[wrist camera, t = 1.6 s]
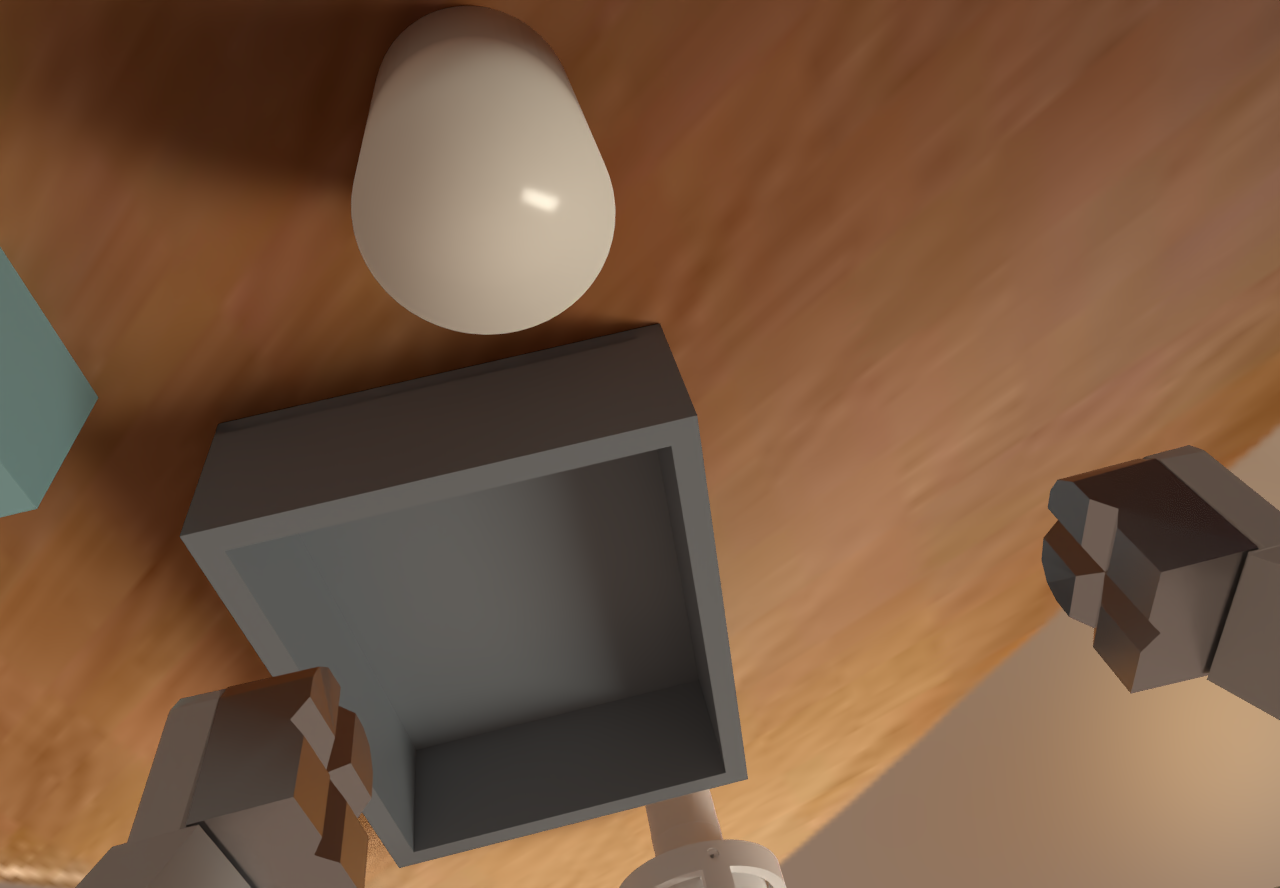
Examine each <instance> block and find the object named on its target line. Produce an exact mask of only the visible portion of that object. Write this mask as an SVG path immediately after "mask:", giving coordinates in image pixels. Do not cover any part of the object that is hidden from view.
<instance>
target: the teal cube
mask: <svg viewBox="0 0 1280 888" xmlns="http://www.w3.org/2000/svg"><path fill="white" fill-rule="evenodd" d="M97 399H98V396H97V395H96V393H95V392H94V390H93V389H92V387H91V386H90V384H89V383H88V381H87V380H86V378H85V376H84V375H83V373H82V372H81V370H80V369H79V367H78V366H77V364H76V363H75V361H74V360H73V358H72V356H71V355H70V353H69V352H68V350H67V349H66V347H65V346H64V344H63V343H62V341H61V340H60V338H59V337H58V335H57V333H56V332H55V330H54V329H53V327H52V326H51V324H50V323H49V321H48V320H47V318H46V317H45V315H44V314H43V312H42V310H41V309H40V307H39V306H38V304H37V303H36V301H35V300H34V298H33V297H32V295H31V294H30V292H29V290H28V289H27V287H26V286H25V284H24V283H23V281H22V280H21V278H20V277H19V275H18V274H17V272H16V271H15V269H14V267H13V266H12V264H11V263H10V261H9V260H8V258H7V257H6V255H5V254H4V252H3V251H2V249H1V247H0V517H4V516H8V515H12V514H17V513H21V512H25V511H30V510H34V509H37V508H38V506H39V504H40V502H41V501H42V499H43V497H44V495H45V493H46V492H47V490H48V488H49V486H50V484H51V483H52V481H53V479H54V477H55V475H56V473H57V472H58V470H59V468H60V466H61V464H62V463H63V461H64V459H65V457H66V455H67V454H68V452H69V450H70V448H71V446H72V445H73V443H74V441H75V439H76V437H77V436H78V434H79V432H80V430H81V428H82V426H83V425H84V423H85V421H86V419H87V417H88V416H89V414H90V412H91V410H92V408H93V407H94V405H95V403H96V401H97Z"/></svg>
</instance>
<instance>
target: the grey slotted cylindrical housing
mask: <svg viewBox="0 0 1280 888" xmlns="http://www.w3.org/2000/svg"><path fill="white" fill-rule="evenodd" d="M645 806H646V811H647V816H648V821H649V826H650V831H651V838H652V843H653V848H654V851H655V856H656V857H655V858H653V859H651V860H649V861H647V862H646V863H644V864H643V865H641V866H640V867H638V868H637V869H636V870H634V871H633V872H632V873H631V874H630V875H629V876H628V877H627V878H626V879H625V880H624V881H623V883H622V884H621V886H620V887H619V888H786V885H785V882H784V878H783V875H782V872H781V869H780V866H779V862H778V860H777V858H776V856H775V855H774V854H773V853H772V852H771V851H770V850H769V849H767V848H766V847H764V846H762V845H759V844H756V843H753V842H749V841H743V840H723V838H722V833H721V829H720V825H719V821H718V819H717V815H716V811H715V808H714V804H713V800H712V796H711V793H710V789H707V790H703V791H699V792H695V793H691V794H687V795H683V796H680V797H676V798H672V799H668V800H664V801H660V802H656V803H652V804H648V805H645Z"/></svg>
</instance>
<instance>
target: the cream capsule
mask: <svg viewBox="0 0 1280 888" xmlns="http://www.w3.org/2000/svg"><path fill="white" fill-rule="evenodd" d="M351 215H352V222H353V229H354V234H355V237H356V241H357V244H358V247H359V250H360V252H361V254H362V256H363V259H364V261H365V263H366V265H367V266H368V268H369V270H370V271H371V273H372V274H373V276H374V278H375V279H376V280H377V281H378V282H379V284H380V285H381V286H382V287H383V289H384V290H385V291H386V292H387V293H388V294H389V295H390V296H391V297H392V298H393V299H395V300H396V301H397V302H398V303H399V304H401V305H402V306H403V307H405V308H406V309H407V310H409V311H410V312H412V313H413V314H415V315H417V316H419V317H420V318H422V319H424V320H426V321H428V322H431V323H433V324H435V325H438V326H440V327H444V328H447V329H450V330H454V331H458V332H464V333H470V334H484V335H490V334H504V333H510V332H516V331H520V330H524V329H527V328H531V327H534V326H536V325H539V324H541V323H543V322H546V321H548V320H550V319H551V318H553V317H555V316H557V315H558V314H560V313H562V312H563V311H564V310H566V309H567V308H568V307H570V306H571V305H572V304H574V303H575V302H576V301H577V300H578V299H579V298H580V297H581V296H582V295H583V294H584V293H585V292H586V290H587V289H588V288H589V287H590V286H591V284H592V283H593V282H594V280H595V279H596V277H597V275H598V274H599V272H600V271H601V269H602V267H603V265H604V262H605V260H606V258H607V256H608V253H609V250H610V246H611V243H612V240H613V233H614V227H615V201H614V193H613V189H612V185H611V181H610V177H609V174H608V172H607V169H606V167H605V164H604V162H603V159H602V157H601V155H600V152H599V150H598V148H597V145H596V143H595V141H594V138H593V136H592V133H591V131H590V129H589V126H588V124H587V122H586V119H585V117H584V115H583V112H582V110H581V108H580V105H579V103H578V101H577V98H576V96H575V94H574V91H573V89H572V87H571V84H570V82H569V80H568V77H567V75H566V72H565V70H564V68H563V66H562V64H561V62H560V60H559V59H558V57H557V55H556V54H555V52H554V51H553V50H552V48H551V47H550V46H549V44H548V43H547V42H546V41H545V40H544V39H543V38H542V37H541V36H540V35H539V34H538V33H537V32H536V31H534V30H533V29H532V28H531V27H530V26H528V25H527V24H525V23H524V22H522V21H520V20H519V19H517V18H515V17H513V16H511V15H509V14H506V13H504V12H501V11H498V10H495V9H491V8H486V7H479V6H457V7H449V8H445V9H442V10H438V11H435V12H432V13H430V14H428V15H426V16H424V17H422V18H420V19H419V20H417V21H415V22H414V23H412V24H411V25H410V26H409V27H407V28H406V29H405V30H404V31H403V32H402V33H401V34H400V35H399V36H398V37H397V38H396V40H395V41H394V42H393V43H392V45H391V46H390V48H389V49H388V51H387V53H386V54H385V56H384V58H383V61H382V63H381V65H380V67H379V71H378V75H377V78H376V82H375V87H374V91H373V96H372V100H371V105H370V109H369V114H368V119H367V123H366V128H365V132H364V137H363V141H362V146H361V150H360V155H359V159H358V164H357V169H356V173H355V178H354V182H353V190H352V197H351Z"/></svg>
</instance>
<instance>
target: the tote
mask: <svg viewBox="0 0 1280 888" xmlns="http://www.w3.org/2000/svg"><path fill="white" fill-rule="evenodd" d="M180 538H181V539H182V541H183V542H184V544H185V545H186V547H187V548H188V550H189V551H190V553H191V554H192V556H193V557H194V559H195V560H196V562H197V563H198V565H199V566H200V568H201V569H202V571H203V573H204V574H205V576H206V577H207V579H208V580H209V582H210V583H211V585H212V586H213V588H214V589H215V591H216V592H217V594H218V595H219V597H220V598H221V600H222V601H223V603H224V604H225V606H226V607H227V609H228V610H229V612H230V613H231V615H232V616H233V618H234V619H235V621H236V622H237V624H238V625H239V627H240V628H241V630H242V631H243V633H244V634H245V636H246V637H247V639H248V640H249V642H250V643H251V645H252V646H253V648H254V649H255V651H256V653H257V654H258V656H259V657H260V659H261V660H262V662H263V663H264V665H265V666H266V668H267V669H268V671H269V672H270V674H271V675H272V677H275V676H279V675H284V674H288V673H293V672H297V671H301V670H306V669H310V668H315V667H319V666H320V667H328V668H329V669H330V671H331V672H332V674H333V676H334V677H335V679H336V680H337V682H338V683H339V685H340V687H341V689H340V698H339V706H340V707H343V708H345V709H347V710H350V711H352V712H354V713H356V715H357V717H358V718H359V720H360V722H361V724H362V726H363V728H364V731H365V734H366V737H367V740H368V743H369V746H370V752H371V761H372V769H373V784H372V798H371V800H370V801H369V803H368V804H367V806H366V807H365V808H364V810H363V811H362V813H363V814H364V816H365V817H366V819H367V820H368V822H369V823H370V825H371V826H372V828H373V829H374V831H375V832H376V834H377V835H378V837H379V838H380V840H381V841H382V843H383V844H384V846H385V847H386V849H387V850H388V852H389V853H390V855H391V856H392V858H393V859H394V861H395V862H396V864H397V865H398V867H399V868H401V867H405V866H409V865H413V864H417V863H421V862H425V861H429V860H433V859H437V858H440V857H444V856H448V855H452V854H456V853H460V852H464V851H468V850H472V849H476V848H480V847H484V846H488V845H491V844H495V843H499V842H503V841H507V840H511V839H515V838H519V837H523V836H527V835H531V834H535V833H538V832H542V831H546V830H550V829H554V828H558V827H562V826H566V825H570V824H574V823H578V822H582V821H585V820H589V819H593V818H597V817H601V816H605V815H609V814H613V813H617V812H621V811H625V810H629V809H633V808H636V807H640V806H644V805H648V804H652V803H656V802H660V801H664V800H668V799H672V798H676V797H680V796H683V795H687V794H691V793H695V792H699V791H703V790H707V789H711V788H715V787H719V786H723V785H727V784H730V783H734V782H738V781H742V780H746V779H748V776H747V769H746V762H745V754H744V747H743V740H742V733H741V726H740V719H739V712H738V704H737V697H736V690H735V683H734V676H733V669H732V662H731V654H730V647H729V640H728V633H727V626H726V619H725V611H724V604H723V597H722V590H721V583H720V576H719V569H718V561H717V554H716V547H715V540H714V533H713V526H712V519H711V511H710V504H709V497H708V490H707V483H706V476H705V469H704V461H703V454H702V447H701V440H700V433H699V426H698V419H697V414H696V412H695V409H694V407H693V404H692V402H691V399H690V397H689V394H688V392H687V389H686V387H685V384H684V382H683V379H682V377H681V375H680V372H679V370H678V367H677V365H676V362H675V360H674V357H673V355H672V352H671V350H670V347H669V345H668V342H667V340H666V338H665V335H664V333H663V330H662V328H661V325H660V323H659V324H655V325H651V326H646V327H642V328H637V329H633V330H629V331H624V332H620V333H615V334H611V335H607V336H602V337H598V338H594V339H589V340H585V341H580V342H576V343H572V344H567V345H563V346H558V347H554V348H550V349H545V350H541V351H536V352H532V353H528V354H523V355H519V356H515V357H510V358H506V359H501V360H497V361H493V362H488V363H484V364H479V365H475V366H471V367H466V368H462V369H458V370H453V371H449V372H444V373H440V374H436V375H431V376H427V377H422V378H418V379H414V380H409V381H405V382H401V383H396V384H392V385H387V386H383V387H379V388H374V389H370V390H365V391H361V392H357V393H352V394H348V395H343V396H339V397H335V398H330V399H326V400H322V401H317V402H313V403H308V404H304V405H300V406H295V407H291V408H286V409H282V410H278V411H273V412H269V413H265V414H260V415H256V416H251V417H247V418H243V419H238V420H234V421H229V422H225V423H221V424H218V426H217V429H216V432H215V435H214V438H213V441H212V444H211V447H210V450H209V452H208V455H207V458H206V461H205V464H204V467H203V470H202V473H201V476H200V479H199V481H198V484H197V487H196V490H195V493H194V496H193V499H192V502H191V505H190V508H189V510H188V513H187V516H186V519H185V522H184V525H183V528H182V531H181V534H180Z"/></svg>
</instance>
